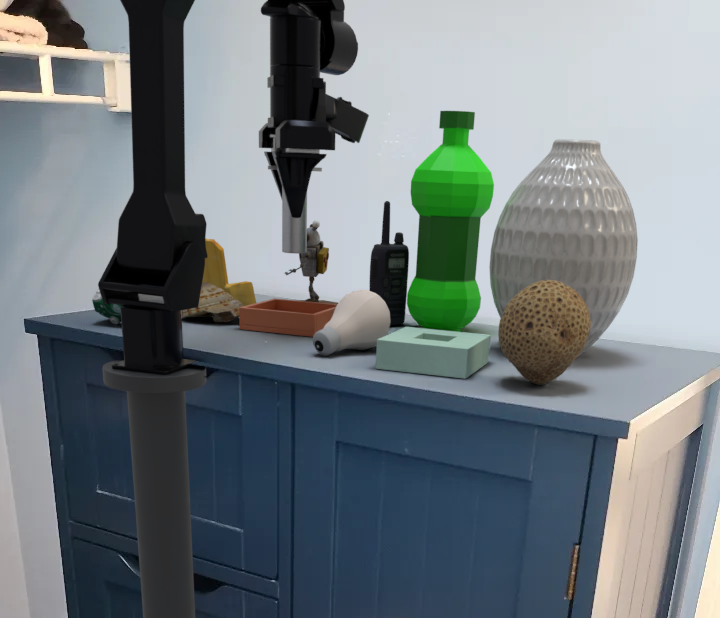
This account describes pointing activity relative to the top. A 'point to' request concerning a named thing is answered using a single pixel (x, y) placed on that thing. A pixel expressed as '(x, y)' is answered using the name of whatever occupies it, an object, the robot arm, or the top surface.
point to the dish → (286, 316)
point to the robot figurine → (313, 261)
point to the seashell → (214, 305)
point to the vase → (568, 233)
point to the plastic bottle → (449, 228)
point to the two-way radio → (390, 270)
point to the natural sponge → (544, 330)
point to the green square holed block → (433, 352)
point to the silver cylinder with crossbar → (293, 226)
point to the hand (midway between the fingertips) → (294, 216)
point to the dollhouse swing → (225, 275)
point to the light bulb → (354, 324)
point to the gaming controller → (107, 308)
